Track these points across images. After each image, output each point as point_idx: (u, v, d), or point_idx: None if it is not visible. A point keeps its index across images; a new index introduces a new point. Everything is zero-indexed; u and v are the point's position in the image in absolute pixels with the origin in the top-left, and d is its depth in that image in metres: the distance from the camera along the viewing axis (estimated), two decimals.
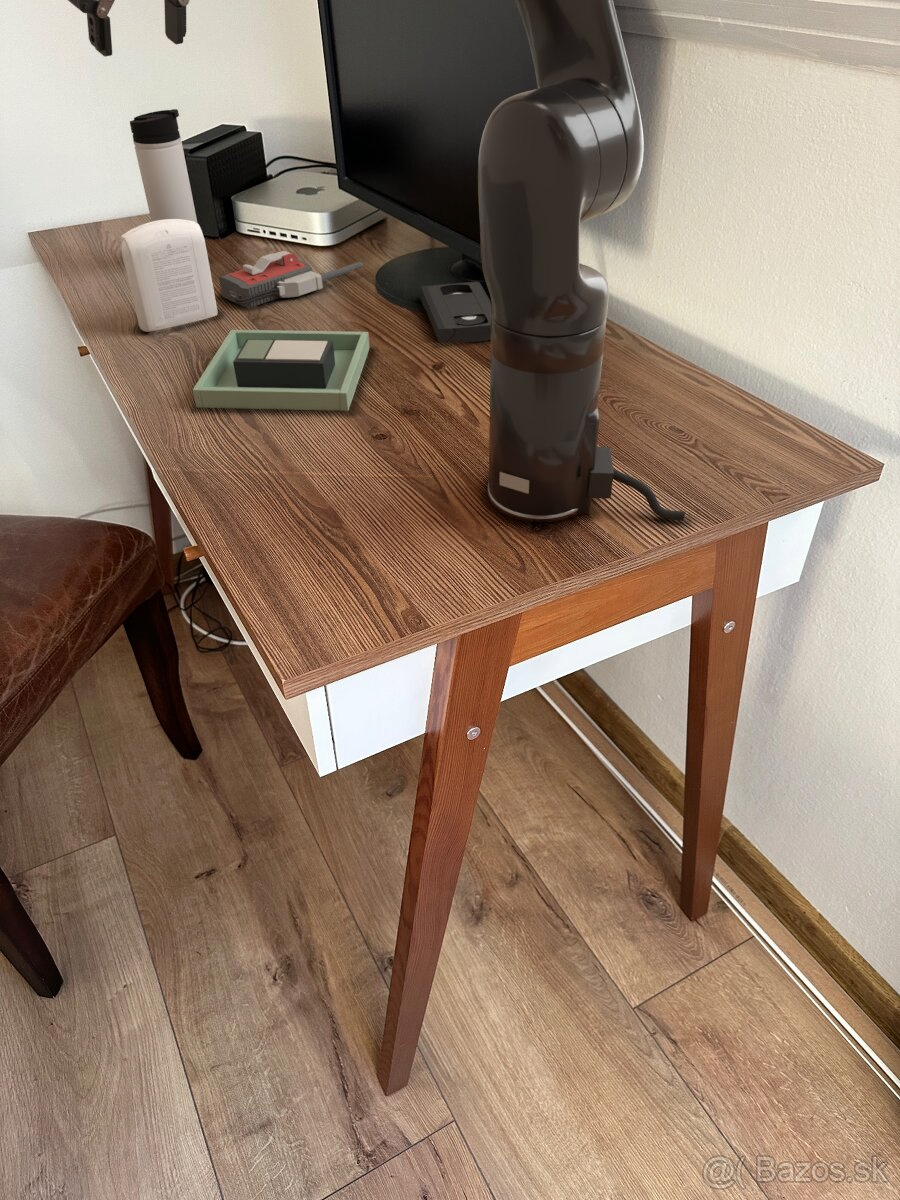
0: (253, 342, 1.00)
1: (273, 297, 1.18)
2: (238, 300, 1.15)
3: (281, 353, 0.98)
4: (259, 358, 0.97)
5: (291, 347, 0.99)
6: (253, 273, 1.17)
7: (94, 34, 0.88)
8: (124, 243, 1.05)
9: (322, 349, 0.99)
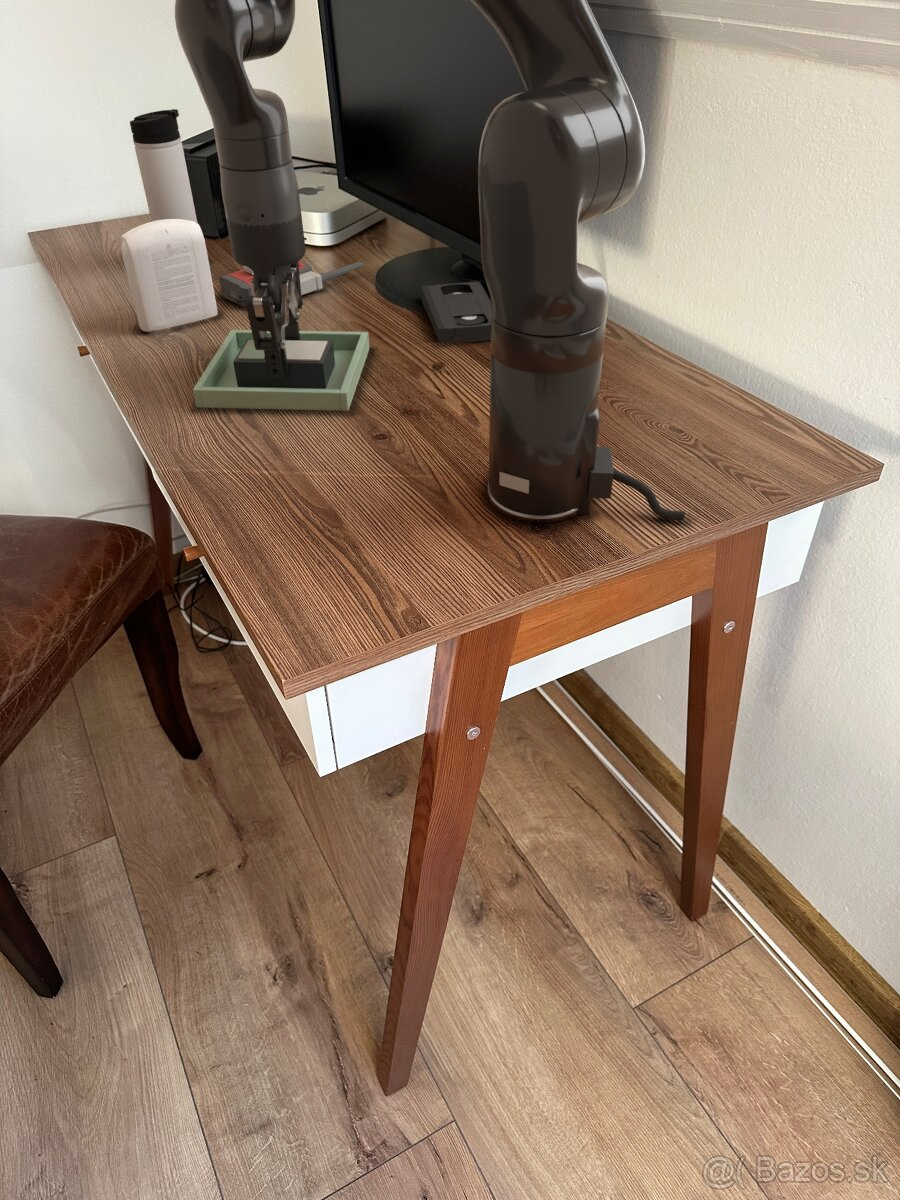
0: (253, 342, 1.00)
1: None
2: (238, 300, 1.15)
3: None
4: (259, 358, 0.97)
5: (291, 347, 0.99)
6: (253, 273, 1.17)
7: (278, 365, 0.95)
8: (124, 243, 1.05)
9: (322, 349, 0.99)
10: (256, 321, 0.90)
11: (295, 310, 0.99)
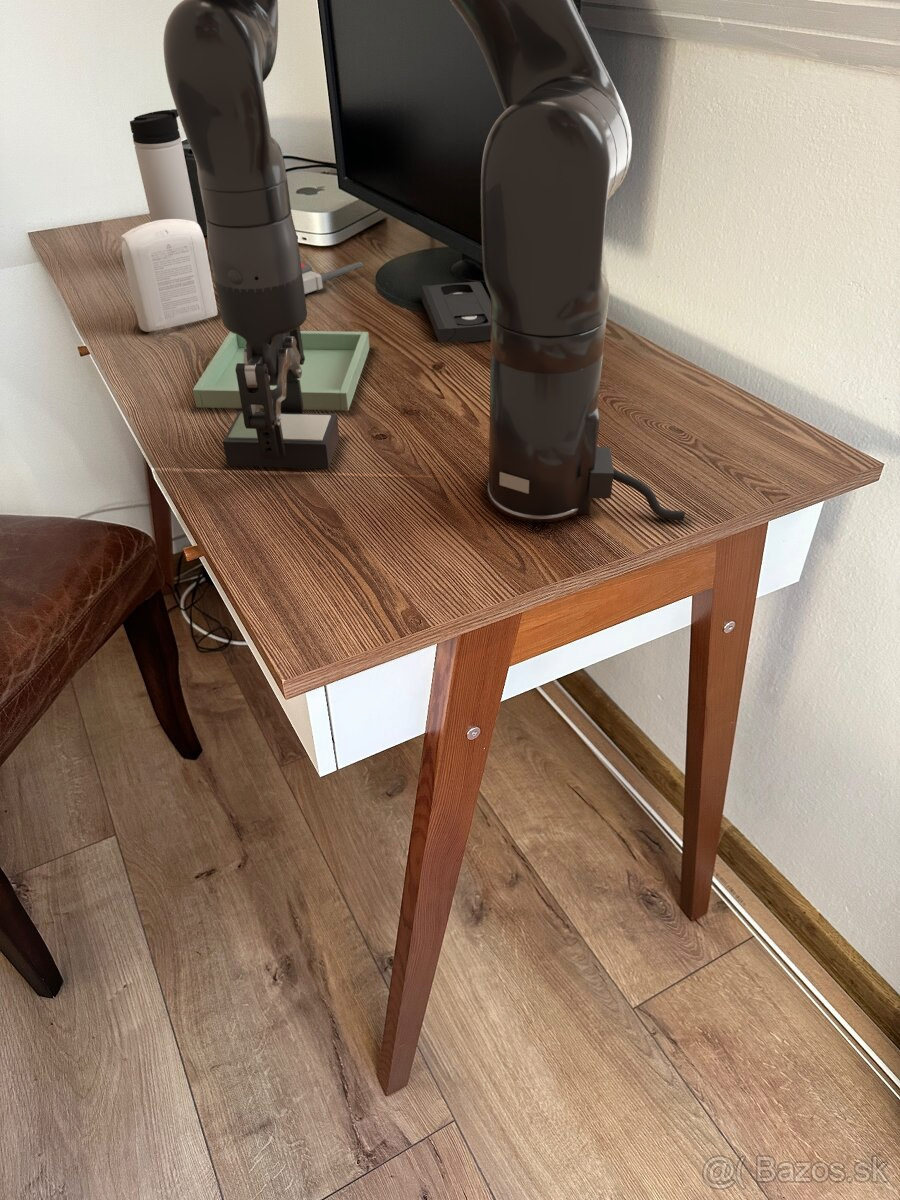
0: None
1: None
2: None
3: None
4: (253, 437, 0.85)
5: (289, 423, 0.87)
6: None
7: (272, 444, 0.81)
8: (124, 243, 1.05)
9: (325, 426, 0.86)
10: (247, 392, 0.76)
11: None
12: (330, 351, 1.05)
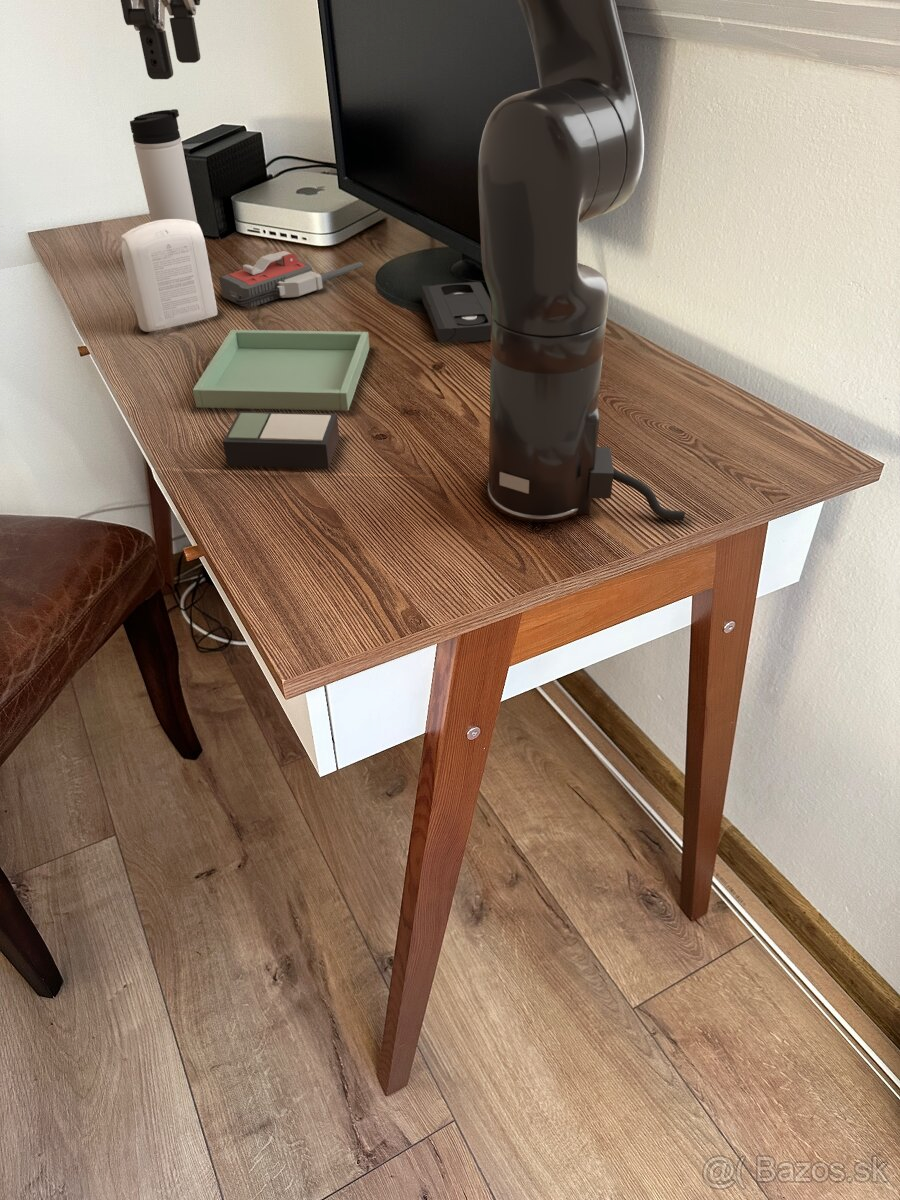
0: (246, 416, 0.88)
1: (273, 297, 1.18)
2: (238, 300, 1.15)
3: (278, 431, 0.86)
4: (253, 437, 0.85)
5: (289, 423, 0.87)
6: (253, 273, 1.17)
7: (156, 54, 0.79)
8: (124, 243, 1.05)
9: (325, 426, 0.86)
10: None
11: None
12: (330, 351, 1.05)
